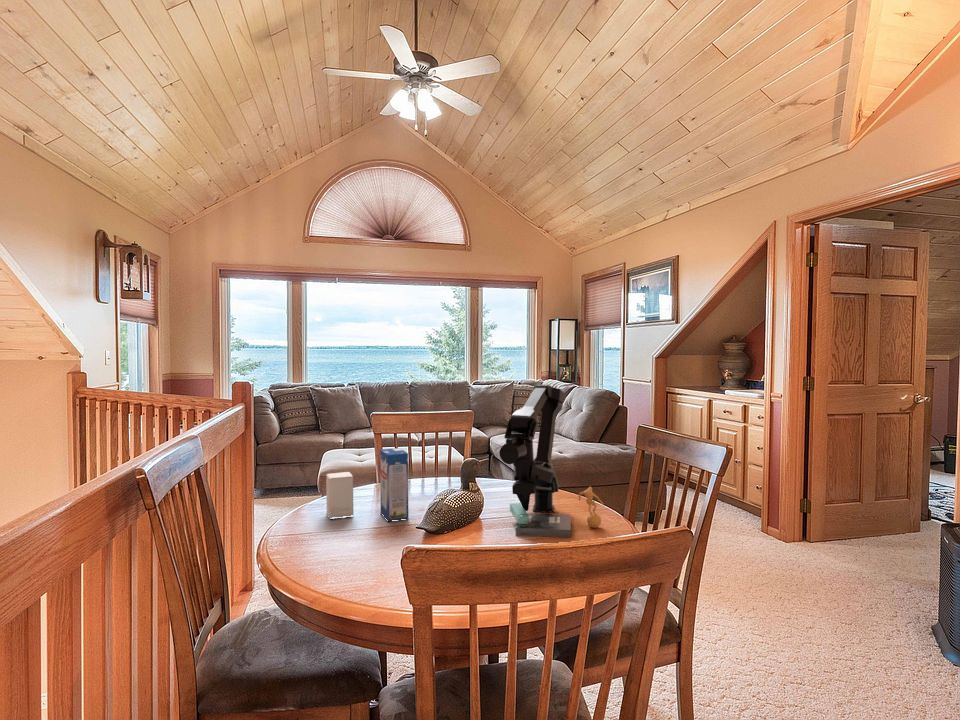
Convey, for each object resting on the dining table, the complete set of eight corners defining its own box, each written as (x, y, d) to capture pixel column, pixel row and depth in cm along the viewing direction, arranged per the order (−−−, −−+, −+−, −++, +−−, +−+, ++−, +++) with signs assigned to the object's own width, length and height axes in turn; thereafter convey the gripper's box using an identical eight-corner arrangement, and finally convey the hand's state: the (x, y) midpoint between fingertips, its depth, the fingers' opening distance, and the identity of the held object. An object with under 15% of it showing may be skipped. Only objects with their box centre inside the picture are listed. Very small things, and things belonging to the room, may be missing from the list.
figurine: (610, 529, 152) (610, 486, 152) (598, 534, 148) (598, 490, 148) (586, 522, 158) (585, 481, 158) (573, 527, 154) (573, 485, 154)
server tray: (519, 519, 162) (519, 510, 162) (569, 521, 160) (569, 512, 160) (515, 535, 148) (515, 525, 148) (571, 537, 146) (571, 527, 146)
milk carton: (380, 513, 169) (379, 449, 168) (400, 510, 171) (399, 447, 171) (388, 522, 159) (387, 454, 159) (408, 519, 162) (408, 453, 161)
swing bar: (509, 510, 161) (509, 503, 161) (519, 509, 161) (519, 503, 161) (518, 524, 147) (518, 517, 147) (529, 524, 148) (529, 516, 148)
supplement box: (354, 517, 165) (353, 476, 164) (328, 520, 162) (328, 478, 162) (350, 510, 171) (350, 471, 171) (326, 513, 169) (325, 473, 168)
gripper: (552, 463, 146) (554, 520, 146) (551, 450, 165) (553, 501, 165) (510, 464, 147) (513, 521, 148) (514, 451, 166) (517, 501, 166)
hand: (526, 510), depth 157 cm, fingers closed
